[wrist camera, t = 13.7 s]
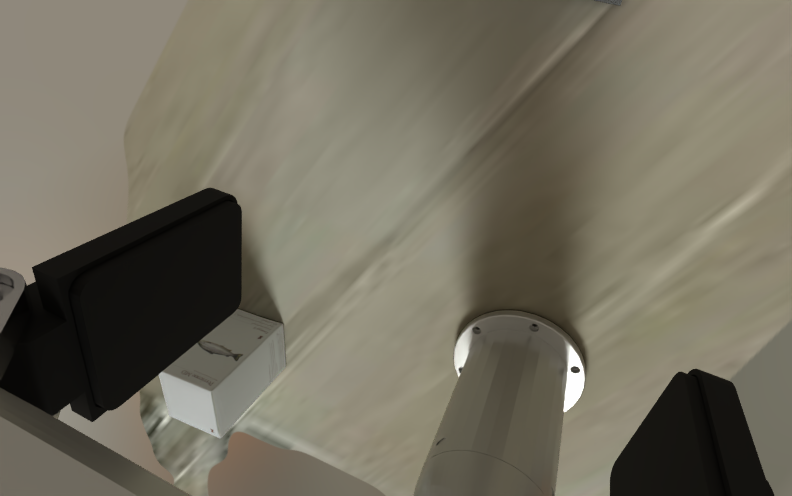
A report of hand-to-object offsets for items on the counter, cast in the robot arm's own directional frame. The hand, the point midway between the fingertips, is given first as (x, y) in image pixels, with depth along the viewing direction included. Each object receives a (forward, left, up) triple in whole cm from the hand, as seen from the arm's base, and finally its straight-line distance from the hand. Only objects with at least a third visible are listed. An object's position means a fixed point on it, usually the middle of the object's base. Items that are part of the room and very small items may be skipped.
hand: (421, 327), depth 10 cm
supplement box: (-37, +25, -31) cm, 54 cm away
